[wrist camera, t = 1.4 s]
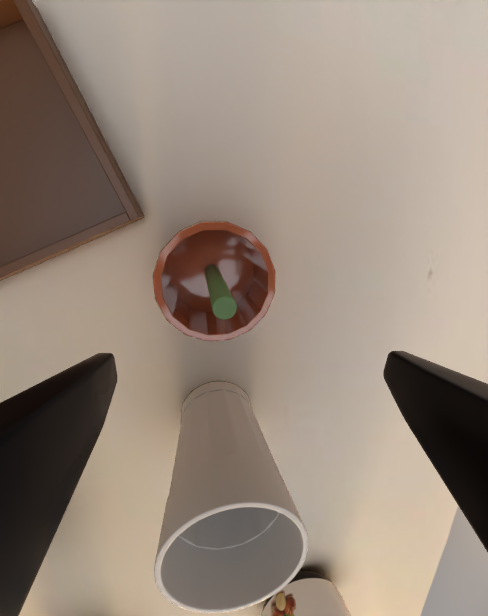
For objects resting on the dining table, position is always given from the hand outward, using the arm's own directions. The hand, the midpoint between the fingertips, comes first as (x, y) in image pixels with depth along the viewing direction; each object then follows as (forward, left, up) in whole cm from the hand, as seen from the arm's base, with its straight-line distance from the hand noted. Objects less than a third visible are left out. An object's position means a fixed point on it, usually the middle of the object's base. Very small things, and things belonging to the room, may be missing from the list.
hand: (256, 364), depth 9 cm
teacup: (0, +1, -14) cm, 14 cm away
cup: (-5, -11, -14) cm, 19 cm away
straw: (0, +1, -13) cm, 13 cm away
